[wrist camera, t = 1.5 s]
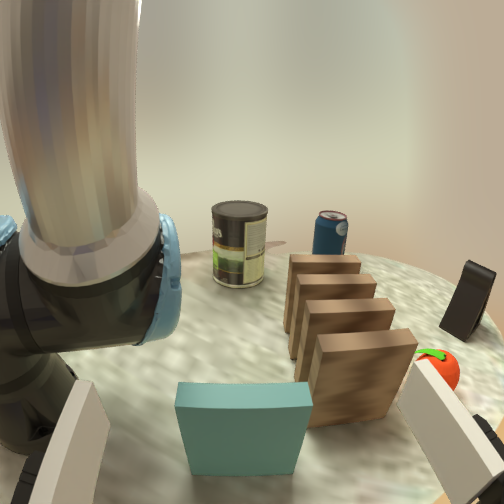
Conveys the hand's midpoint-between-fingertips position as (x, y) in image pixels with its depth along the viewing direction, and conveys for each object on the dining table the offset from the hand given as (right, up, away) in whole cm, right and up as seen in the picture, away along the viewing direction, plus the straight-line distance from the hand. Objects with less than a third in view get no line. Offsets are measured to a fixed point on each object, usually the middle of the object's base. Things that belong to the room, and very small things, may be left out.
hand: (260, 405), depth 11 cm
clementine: (+22, -13, +24) cm, 35 cm away
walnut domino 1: (+10, -6, +38) cm, 39 cm away
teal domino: (-1, -16, +15) cm, 22 cm away
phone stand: (+38, -8, +37) cm, 53 cm away
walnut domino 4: (+10, -13, +21) cm, 27 cm away
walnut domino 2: (+10, -8, +32) cm, 35 cm away
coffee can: (-3, +1, +53) cm, 53 cm away
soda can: (+16, +3, +57) cm, 60 cm away
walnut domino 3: (+10, -11, +27) cm, 31 cm away
